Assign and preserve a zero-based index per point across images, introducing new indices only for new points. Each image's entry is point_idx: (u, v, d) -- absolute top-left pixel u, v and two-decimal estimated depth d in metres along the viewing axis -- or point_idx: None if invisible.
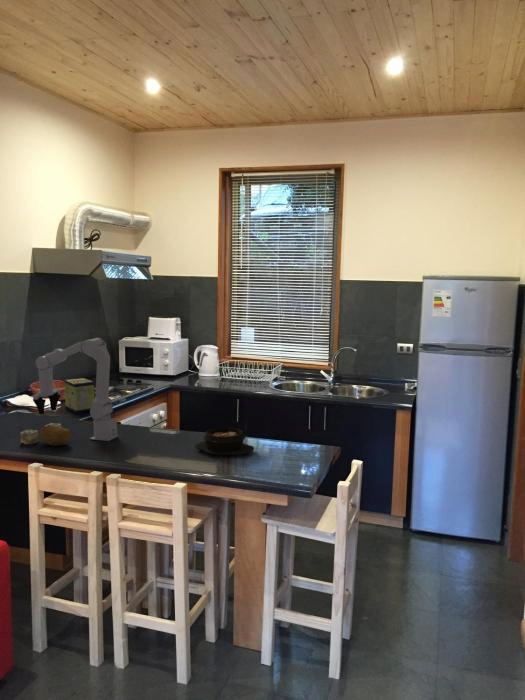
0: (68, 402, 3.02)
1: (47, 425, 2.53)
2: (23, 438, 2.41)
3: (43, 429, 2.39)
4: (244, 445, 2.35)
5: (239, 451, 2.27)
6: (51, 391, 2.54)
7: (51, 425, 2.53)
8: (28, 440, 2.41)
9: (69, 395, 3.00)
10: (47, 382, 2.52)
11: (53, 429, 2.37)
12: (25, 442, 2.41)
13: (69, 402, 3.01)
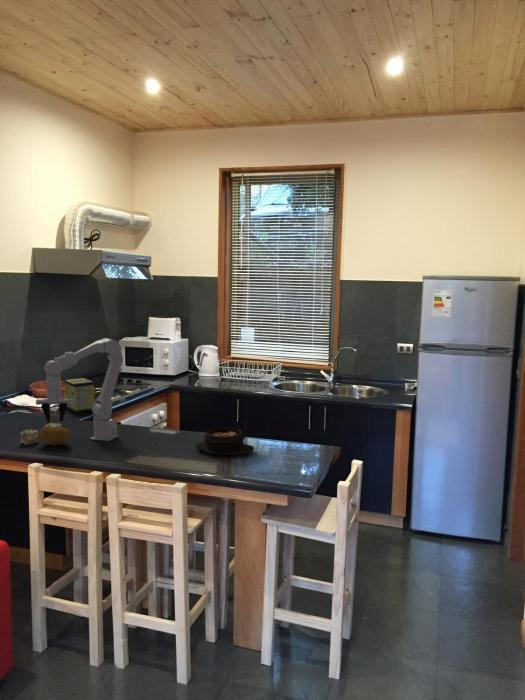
0: None
1: (47, 425, 2.53)
2: (23, 438, 2.41)
3: (43, 429, 2.39)
4: (244, 445, 2.35)
5: (239, 451, 2.27)
6: (51, 400, 2.35)
7: (51, 425, 2.53)
8: (28, 440, 2.41)
9: (69, 395, 3.00)
10: (59, 388, 2.37)
11: (53, 429, 2.37)
12: (25, 442, 2.41)
13: None
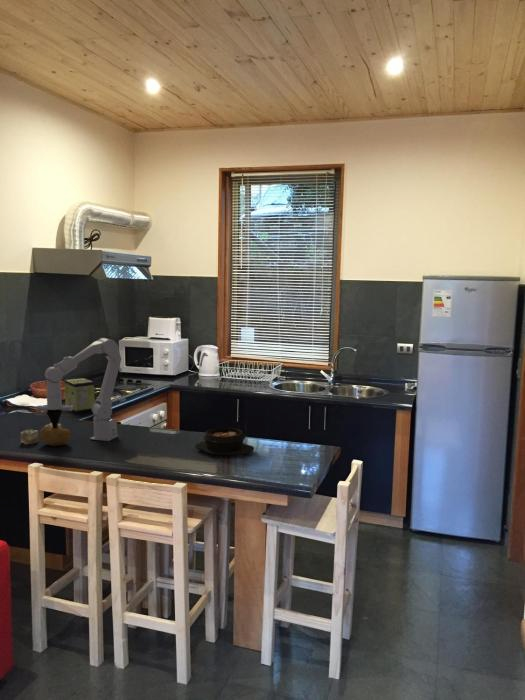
0: (68, 402, 3.02)
1: (47, 425, 2.53)
2: (23, 438, 2.41)
3: (43, 429, 2.39)
4: (244, 445, 2.35)
5: (239, 451, 2.27)
6: (52, 406, 2.35)
7: (51, 425, 2.53)
8: (28, 440, 2.41)
9: (69, 395, 3.00)
10: (60, 395, 2.37)
11: (53, 429, 2.37)
12: (25, 442, 2.41)
13: (69, 402, 3.01)
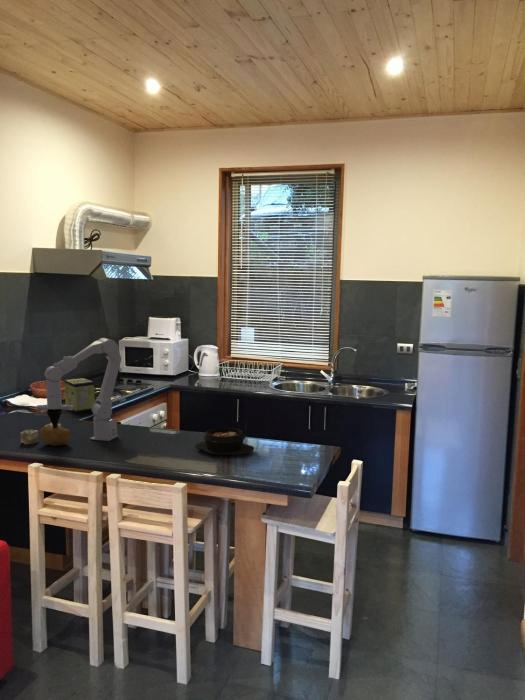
0: (68, 402, 3.02)
1: (47, 425, 2.53)
2: (23, 438, 2.41)
3: (43, 429, 2.39)
4: (244, 445, 2.35)
5: (239, 451, 2.27)
6: (52, 405, 2.35)
7: (51, 425, 2.53)
8: (28, 440, 2.41)
9: (69, 395, 3.00)
10: (60, 394, 2.37)
11: (53, 429, 2.37)
12: (25, 442, 2.41)
13: (69, 402, 3.01)
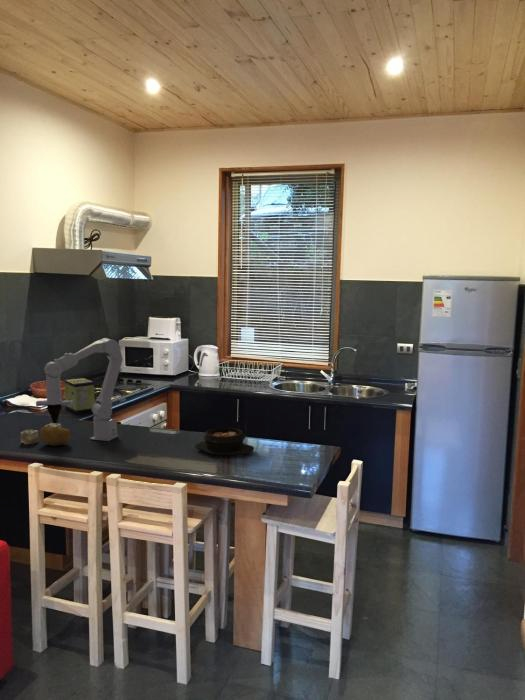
0: None
1: (47, 425, 2.53)
2: (23, 438, 2.41)
3: (43, 429, 2.39)
4: (244, 445, 2.35)
5: (239, 451, 2.27)
6: (52, 401, 2.35)
7: (51, 425, 2.53)
8: (28, 440, 2.41)
9: (69, 395, 3.00)
10: (59, 390, 2.37)
11: (53, 429, 2.37)
12: (25, 442, 2.41)
13: None
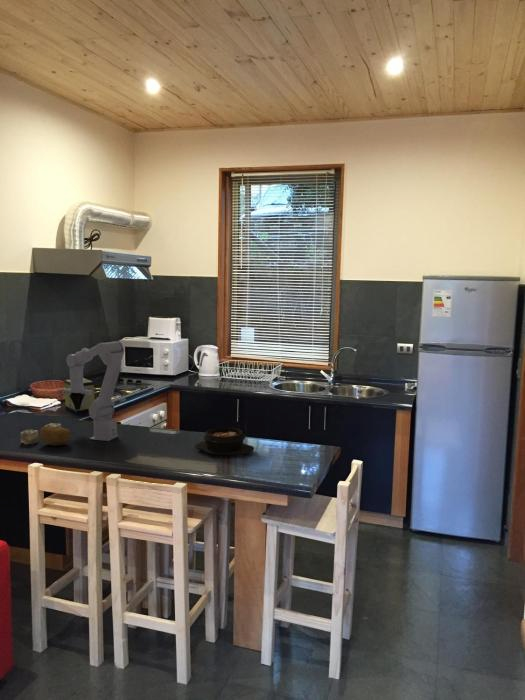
0: (68, 402, 3.02)
1: (47, 425, 2.53)
2: (23, 438, 2.41)
3: (43, 429, 2.39)
4: (244, 445, 2.35)
5: (239, 451, 2.27)
6: (73, 389, 2.56)
7: (51, 425, 2.53)
8: (28, 440, 2.41)
9: None
10: (75, 380, 2.55)
11: (53, 429, 2.37)
12: (25, 442, 2.41)
13: (69, 402, 3.01)
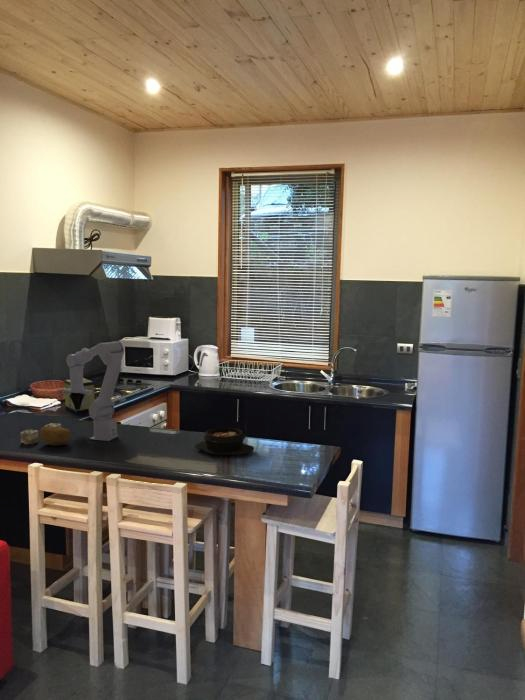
0: (68, 402, 3.02)
1: (47, 425, 2.53)
2: (23, 438, 2.41)
3: (43, 429, 2.39)
4: (244, 445, 2.35)
5: (239, 451, 2.27)
6: (73, 389, 2.56)
7: (51, 425, 2.53)
8: (28, 440, 2.41)
9: None
10: (75, 380, 2.55)
11: (53, 429, 2.37)
12: (25, 442, 2.41)
13: (69, 402, 3.01)
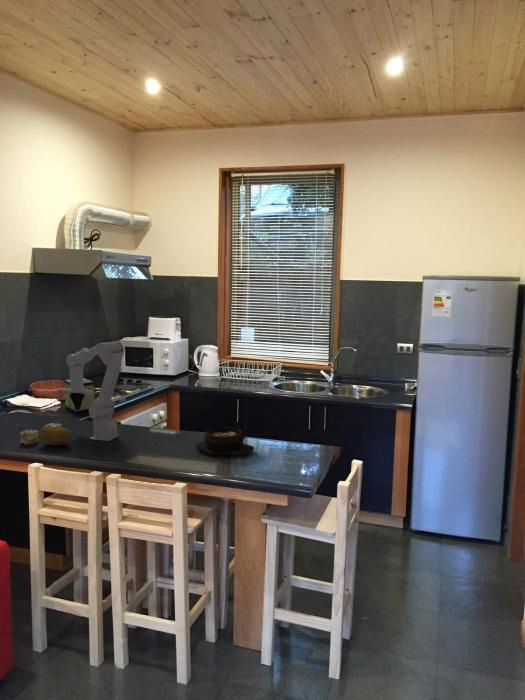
0: (68, 402, 3.02)
1: (47, 425, 2.53)
2: (23, 438, 2.41)
3: (43, 429, 2.39)
4: (244, 445, 2.35)
5: (239, 451, 2.27)
6: (73, 389, 2.56)
7: (51, 425, 2.53)
8: (28, 440, 2.41)
9: None
10: (75, 380, 2.55)
11: (53, 429, 2.37)
12: (25, 442, 2.41)
13: (69, 402, 3.01)
